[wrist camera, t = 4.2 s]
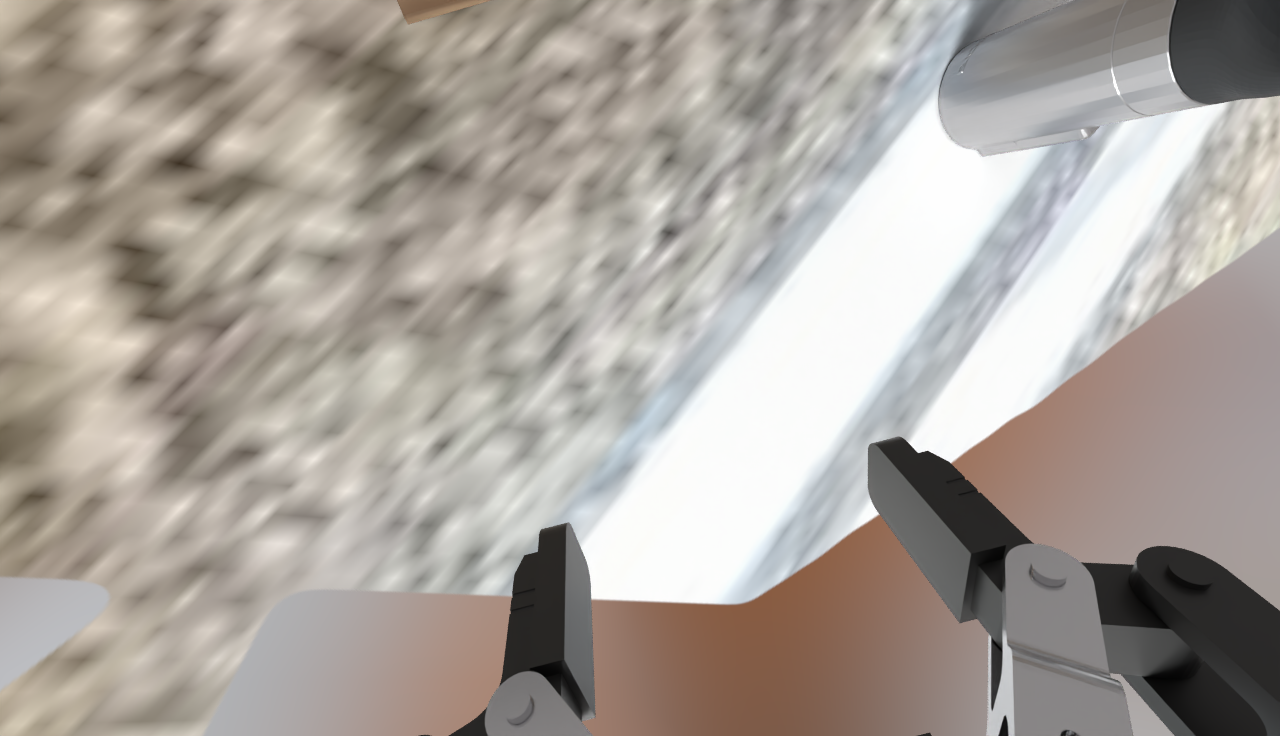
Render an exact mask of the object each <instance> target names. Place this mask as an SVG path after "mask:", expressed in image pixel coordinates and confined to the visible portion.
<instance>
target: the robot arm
mask: <svg viewBox="0 0 1280 736" xmlns="http://www.w3.org/2000/svg"><path fill="white" fill-rule="evenodd" d="M1272 96H1280V0H1073V1H1070V2H1068V3H1066V4H1063V5H1061V6H1059V7H1056V8H1054V9H1052V10H1049V11H1047V12H1044V13H1042V14H1040V15H1037V16H1035V17H1033V18H1030V19H1028V20H1026V21H1023V22H1021V23H1018V24H1016V25H1014V26H1011V27H1009V28H1007V29H1004V30H1002V31H999V32H997V33H993V34H991V35H989V36H987V37H984V38H983V39H981V40H978V41H976V42H973V43H971V44H970V45H968V46H967V47H965V48H963V49H962V50H961V51H960V52H959V53H958V54H957V55H956V56H955V57H954V59H953V60H952V62H951V63H950V65H949V66H948V68H947V70H946V73H945V75H944V77H943V81H942V84H941V88H940V95H939V112H940V117H941V121H942V124H943V126H944V129H945V131H946V132H947V134H948V135H949V137H950V138H951V139H952V140H953V141H954V142H955V143H957V144H958V145H960V146H962V147H964V148H969V149H975V150H977V151H978V152H979V153H980V154H981V156H983V157H985V156H991V155H996V154H1002V153H1008V152H1014V151H1020V150H1026V149H1032V148H1038V147H1044V146H1049V145H1055V144H1061V143H1067V142H1073V141H1079V140H1084V139H1087V138H1089V137H1090V136H1092V135H1093V134H1094V132H1095V131H1096V130H1097V129H1098V128H1099V127H1100V126H1102V125H1107V124H1113V123H1118V122H1123V121H1129V120H1134V119H1139V118H1144V117H1150V116H1154V115H1159V114H1165V113H1170V112H1175V111H1181V110H1186V109H1191V108H1196V107H1202V106H1207V105H1212V104H1219V103H1224V102H1229V101H1234V100H1240V99H1249V98H1265V97H1272ZM868 490H869V494H870V498H871V500H872V502H873V505H874V506H875V508H876V510H877V511H878V513H879V514H880V515H881V517H882V518H883V519H884V521H885V522H886V523H887V525H888V526H889V528H890V529H891V530H892V532H893V533H894V534H895V536H896V537H897V538H898V540H899V541H900V543H901V544H902V545H903V546H904V548H905V549H906V551H907V552H908V553H909V555H910V556H911V558H912V559H913V560H914V562H915V563H916V564H917V566H918V567H919V568H920V570H921V571H922V573H923V574H924V575H925V577H926V578H927V579H928V581H929V582H930V583H931V585H932V586H933V587H934V589H935V590H936V592H937V593H938V594H939V596H940V597H941V598H942V600H943V601H944V602H945V604H946V605H947V607H948V608H949V609H950V611H951V612H952V613H953V615H954V616H955V618H956V619H957V620H958V621H959V623H962V622H966V621H970V620H974V619H978V620H979V621H980V623H981V624H982V626H983V627H984V628H985V629H986V631H987V632H988V633H989V639H988V644H989V645H988V723H987V734H986V736H1133V732H1132V727H1131V721H1130V716H1129V710H1128V705H1127V700H1126V695H1125V692H1124V689H1123V687H1122V685H1121V683H1120V682H1119V681H1118V680H1115V679H1112V678H1111V676H1110V673H1114V674H1121V675H1122V676H1123V677H1124V678H1125V680H1126V681H1127V682H1128V683H1129V684H1130V685H1131V686H1132V688H1133V689H1134V690H1135V691H1136V692H1137V693H1138V694H1139V695H1140V696H1141V698H1142V699H1143V700H1144V701H1145V702H1146V703H1147V704H1148V706H1149V707H1150V708H1151V709H1152V710H1153V711H1154V713H1155V714H1157V716H1158V717H1159V718H1160V720H1161V721H1162V722H1163V723H1164V724H1165V725H1166V726H1167V727H1168V729H1169V730H1170V731H1171V732H1172V733H1173V734H1174V735H1175V736H1280V611H1279V610H1278V609H1277V608H1275V607H1274V606H1273V605H1272V604H1270V603H1269V602H1268V601H1266V600H1265V599H1264V598H1263V597H1261V596H1260V595H1259V594H1257V593H1256V592H1255V591H1254V590H1252V589H1251V588H1250V587H1248V586H1247V585H1246V584H1244V583H1243V582H1242V581H1241V580H1239V579H1238V578H1237V577H1235V576H1234V575H1233V574H1232V573H1230V572H1229V571H1228V570H1227V569H1225V568H1224V567H1222V566H1221V565H1219V564H1218V563H1216V562H1214V561H1213V560H1211V559H1209V558H1206V557H1205V556H1203V555H1200V554H1197V553H1194V552H1192V551H1189V550H1185V549H1181V548H1176V547H1169V546H1156V547H1150V548H1147V549H1145V550H1143V551H1142V552H1141V553H1139V555H1138V557H1137V559H1136V561H1135V564H1134V565H1125V564H1100V563H1081V562H1079V561H1078V560H1077V559H1075V558H1074V557H1072V556H1071V555H1069V554H1067V553H1065V552H1063V551H1061V550H1059V549H1056V548H1053V547H1050V546H1046V545H1041V544H1034V543H1032V542H1031V541H1030V540H1029V539H1028V538H1027V537H1025V535H1024V534H1023V533H1022V532H1021V531H1020V530H1019V529H1017V528H1016V527H1015V526H1014V525H1013V524H1012V523H1011V522H1010V521H1009V520H1008V519H1007V518H1006V517H1005V516H1004V515H1003V514H1002V513H1001V512H1000V511H999V510H998V509H997V508H996V507H995V506H994V505H993V504H992V503H991V502H990V501H989V500H988V499H987V498H985V497H984V496H983V494H982V493H978V491H977V489H976V488H975V487H974V486H973V485H972V484H971V483H970V482H969V481H968V480H965V477H964V476H963V475H962V474H961V473H960V472H959V471H958V470H957V469H956V468H955V467H954V466H953V465H952V464H951V463H950V462H948V461H946V460H944V459H942V458H940V457H939V456H937V455H935V454H933V453H931V452H929V451H925V452H921V453H917V452H916V451H915V450H914V449H913V447H912V446H911V445H910V444H909V443H908V442H907V441H906V440H905V439H903V438H902V437H895V438H891V439H887V440H884V441H880V442H876V443H872V444H870V445H869V447H868ZM512 595H513V598H512V600H511V609H510V611H511V614H510V617H509V624H508V632H507V641H506V649H505V657H504V665H503V674H502V679H501V683H500V686H499V688H498V689H497V690H496V691H495V693H494V694H493V696H492V698H491V699H490V701H489V704H488V707H487V708H486V709H485V710H484V711H483V712H482V713H481V714H480V715H479V716H478V717H477V718H475V719H474V720H473V721H471V722H470V723H468V724H467V725H465V726H464V727H462V728H461V729H459V730H457V731H456V732H454V733H452V734H451V735H449V736H593V735H592V734H591V733H590V732H589V730H588V729H587V728H586V727H585V726H584V724H583V723H582V721H584V720H588V719H592V718H595V695H594V694H595V693H594V666H593V665H594V664H593V640H592V639H593V637H592V610H591V583H590V575H589V570H588V566H587V562H586V559H585V557H584V555H583V552H582V550H581V547H580V545H579V543H578V540H577V538H576V536H575V533H574V531H573V528H572V526H571V524H570V523H569V522H568V523H564V524H561V525H557V526H553V527H549V528H545V529H541V531H540V534H539V546H538V552H536V553H532V554H528V555H524V557H523V559H522V561H521V563H520V565H519V567H518V569H517V571H516V573H515V575H514V583H513V591H512ZM420 736H430V735H420ZM918 736H931V734H930V733H926V734H923V735H918Z"/></svg>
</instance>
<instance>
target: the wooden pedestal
mask: <svg viewBox="0 0 1280 736" xmlns="http://www.w3.org/2000/svg"><path fill="white" fill-rule="evenodd" d="M397 1H398V4H399V6H400V8H401V11H402V13H403V16H404V18H405V19H406V21H407V23H408V24H411V23H415V22H418V21H422V20H425V19H429V18H432V17H435V16H439V15H442V14H446V13H449V12H453V11H456V10H460V9H463V8H466V7H470V6H473V5H477V4H480V3H484V2H487V1H491V0H397Z"/></svg>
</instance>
